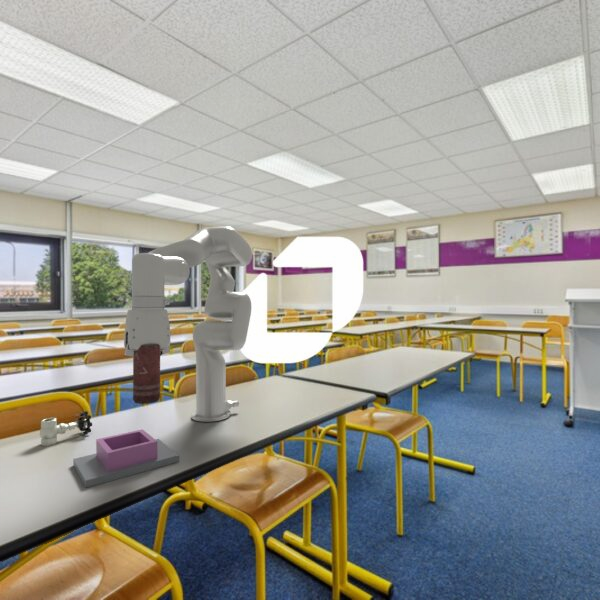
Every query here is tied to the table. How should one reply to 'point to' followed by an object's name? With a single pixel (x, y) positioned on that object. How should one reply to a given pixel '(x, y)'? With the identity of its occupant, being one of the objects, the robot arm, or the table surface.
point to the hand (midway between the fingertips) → (147, 378)
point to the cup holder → (123, 457)
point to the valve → (62, 428)
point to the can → (146, 374)
